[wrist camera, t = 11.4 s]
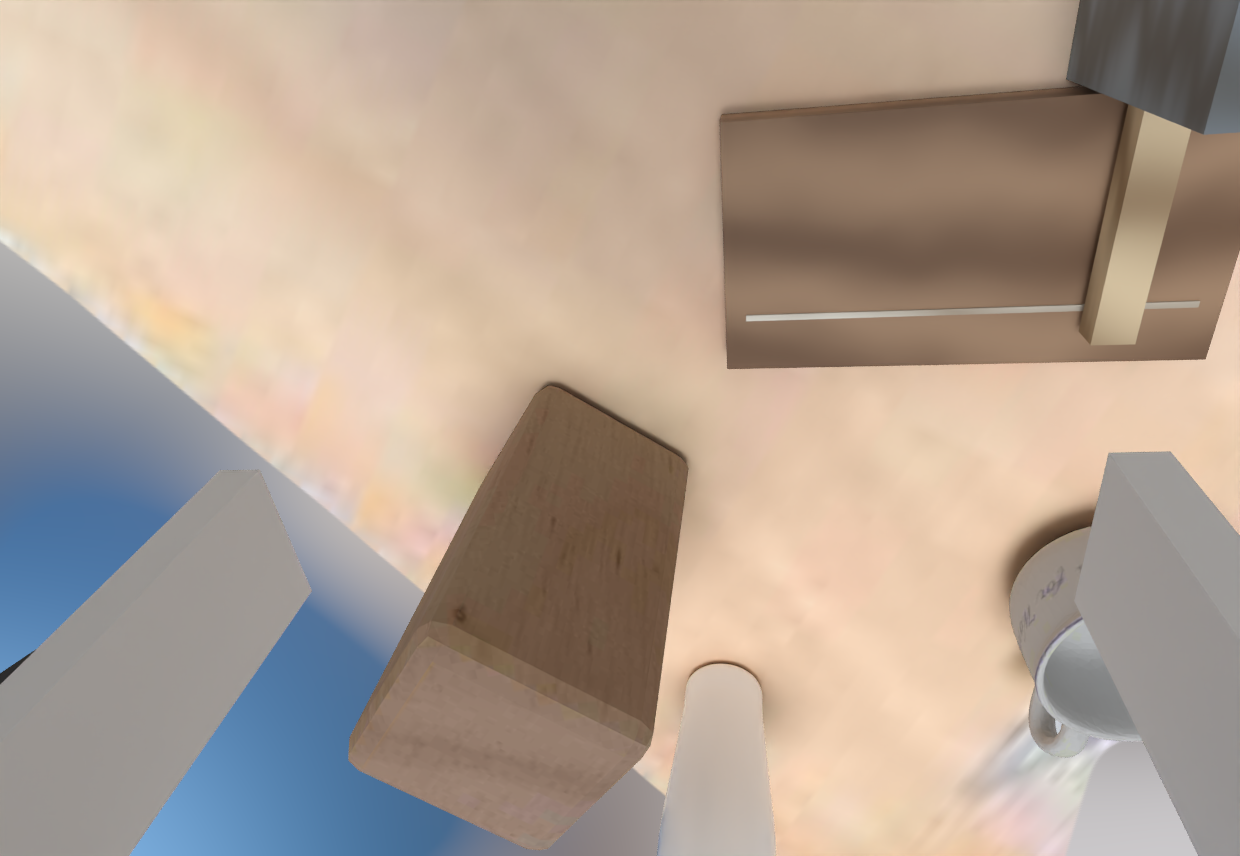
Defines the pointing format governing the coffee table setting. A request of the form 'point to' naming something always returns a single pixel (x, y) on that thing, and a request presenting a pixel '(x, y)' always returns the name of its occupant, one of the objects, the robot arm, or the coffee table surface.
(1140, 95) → the grey block
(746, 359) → the board
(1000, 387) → the coffee table surface
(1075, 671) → the teacup
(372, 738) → the wooden block
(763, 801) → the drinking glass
